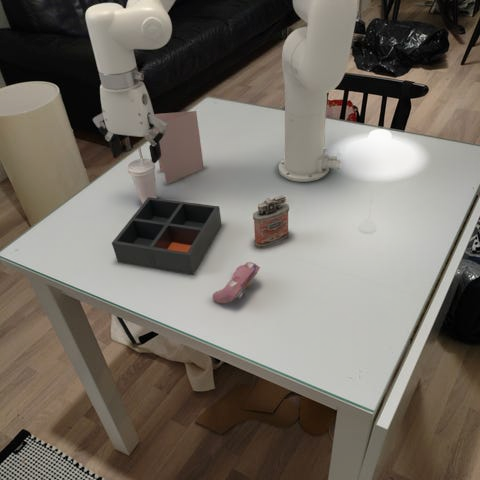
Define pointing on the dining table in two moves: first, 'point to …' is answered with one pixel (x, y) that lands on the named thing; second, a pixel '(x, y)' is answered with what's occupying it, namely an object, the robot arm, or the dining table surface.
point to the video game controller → (237, 283)
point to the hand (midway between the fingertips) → (137, 157)
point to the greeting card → (180, 145)
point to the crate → (168, 235)
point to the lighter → (271, 222)
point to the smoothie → (143, 177)
